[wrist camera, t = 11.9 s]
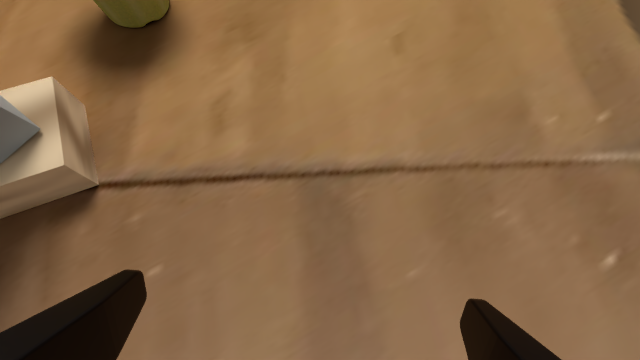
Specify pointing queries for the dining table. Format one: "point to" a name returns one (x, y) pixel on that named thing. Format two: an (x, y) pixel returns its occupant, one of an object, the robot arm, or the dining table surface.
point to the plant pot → (133, 11)
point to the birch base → (47, 148)
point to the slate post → (13, 129)
